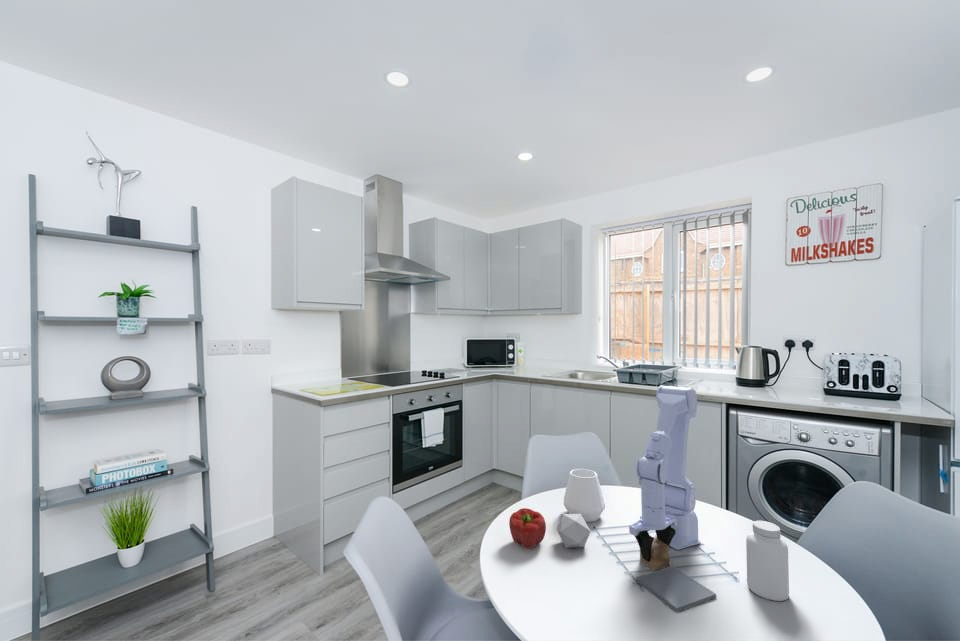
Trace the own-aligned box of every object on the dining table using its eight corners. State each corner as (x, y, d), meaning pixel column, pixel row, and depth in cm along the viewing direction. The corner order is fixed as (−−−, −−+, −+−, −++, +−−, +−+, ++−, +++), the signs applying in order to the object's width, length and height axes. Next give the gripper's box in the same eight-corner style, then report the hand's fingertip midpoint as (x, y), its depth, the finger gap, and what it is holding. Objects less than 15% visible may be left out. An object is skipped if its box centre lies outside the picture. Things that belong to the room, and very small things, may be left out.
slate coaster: (673, 569, 103) (672, 566, 103) (716, 597, 91) (716, 593, 91) (635, 580, 98) (635, 577, 98) (676, 611, 87) (676, 608, 87)
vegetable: (548, 555, 110) (547, 518, 110) (510, 555, 110) (509, 518, 110) (543, 535, 120) (543, 501, 121) (509, 535, 121) (508, 501, 121)
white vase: (611, 525, 127) (610, 480, 127) (568, 525, 127) (567, 480, 127) (598, 506, 140) (598, 466, 140) (560, 507, 140) (559, 466, 141)
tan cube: (654, 555, 109) (654, 537, 109) (669, 565, 104) (669, 546, 104) (640, 560, 107) (639, 540, 107) (654, 570, 102) (654, 550, 102)
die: (583, 559, 109) (599, 523, 112) (554, 540, 110) (570, 505, 114) (576, 554, 117) (591, 521, 120) (548, 536, 118) (563, 504, 122)
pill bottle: (791, 607, 88) (789, 536, 89) (747, 594, 92) (745, 528, 93) (787, 587, 95) (785, 522, 95) (746, 576, 99) (744, 514, 100)
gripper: (662, 494, 112) (663, 544, 112) (620, 503, 107) (621, 555, 107) (683, 504, 106) (684, 557, 105) (640, 514, 100) (641, 569, 100)
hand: (654, 557), depth 106 cm, fingers closed on tan cube, 5 cm apart
